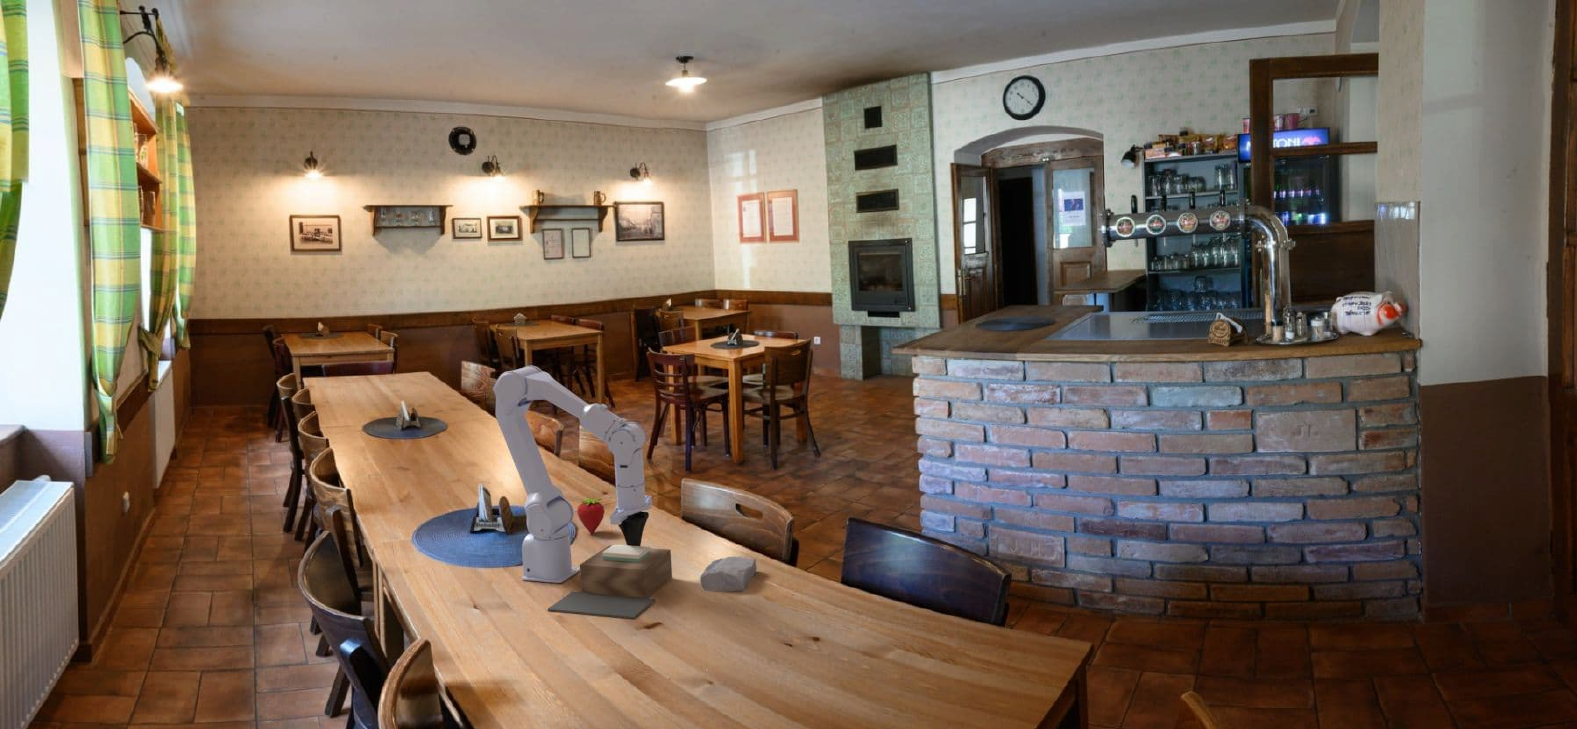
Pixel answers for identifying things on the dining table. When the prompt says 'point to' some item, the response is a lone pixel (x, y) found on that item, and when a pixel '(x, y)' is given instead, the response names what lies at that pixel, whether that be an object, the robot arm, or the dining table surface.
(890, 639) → the dining table surface
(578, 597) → the mat
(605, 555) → the teal and white sponge
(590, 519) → the strawberry
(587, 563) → the riser
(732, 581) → the stone block
